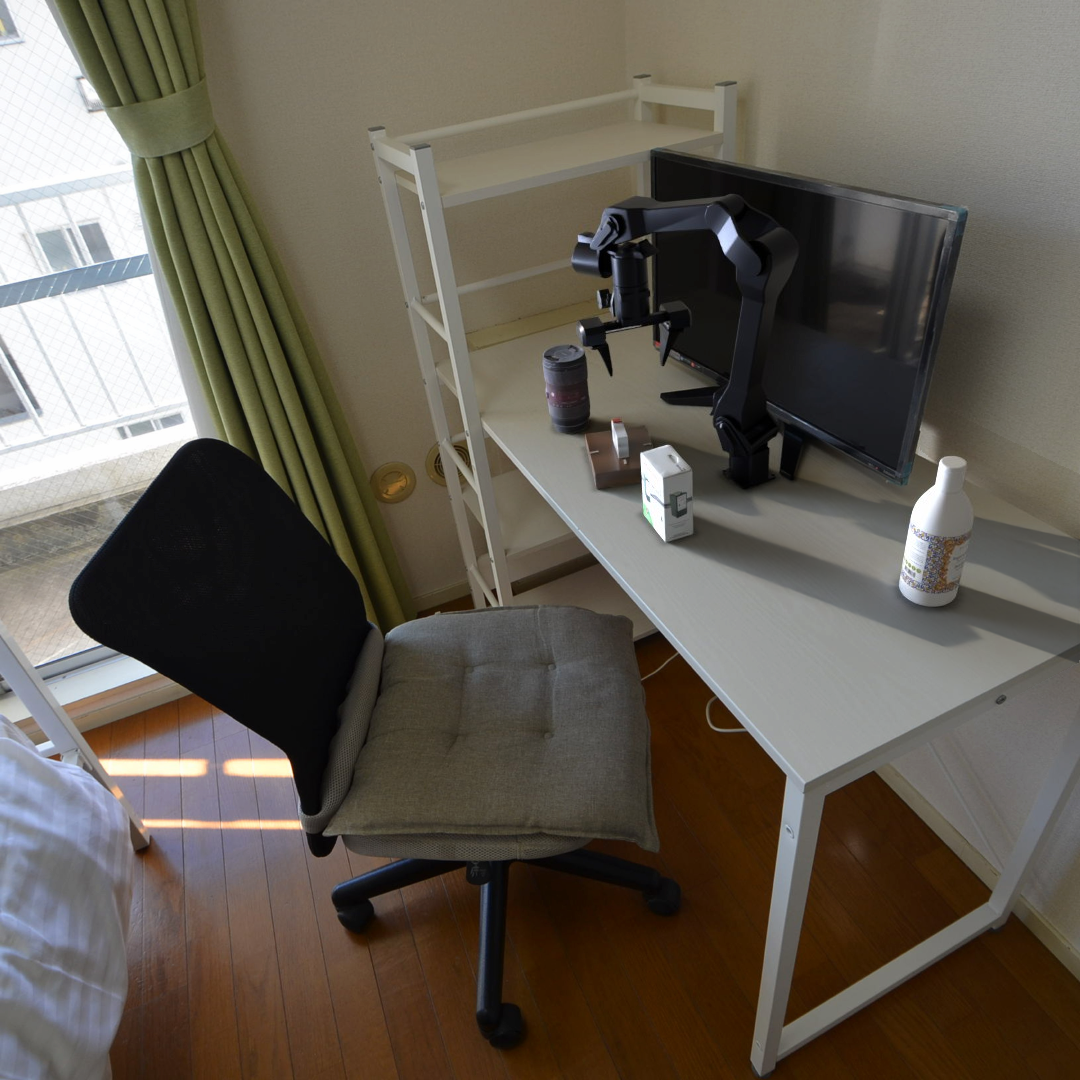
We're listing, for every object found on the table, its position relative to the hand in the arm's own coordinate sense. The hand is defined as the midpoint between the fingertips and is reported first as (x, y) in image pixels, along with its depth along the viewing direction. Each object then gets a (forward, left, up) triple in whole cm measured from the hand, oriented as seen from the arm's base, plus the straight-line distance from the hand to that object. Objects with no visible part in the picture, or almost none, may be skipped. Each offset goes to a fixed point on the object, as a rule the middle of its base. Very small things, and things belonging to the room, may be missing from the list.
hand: (636, 370), depth 139 cm
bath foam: (-58, -10, -14) cm, 60 cm away
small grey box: (-6, +7, -10) cm, 14 cm away
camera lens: (+12, +8, -14) cm, 20 cm away
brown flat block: (-6, +7, -14) cm, 16 cm away
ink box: (-26, +10, -14) cm, 31 cm away
